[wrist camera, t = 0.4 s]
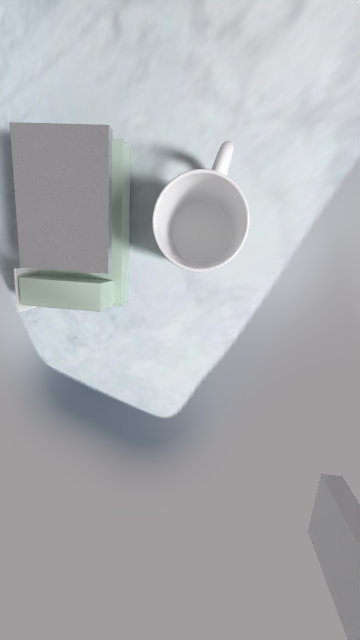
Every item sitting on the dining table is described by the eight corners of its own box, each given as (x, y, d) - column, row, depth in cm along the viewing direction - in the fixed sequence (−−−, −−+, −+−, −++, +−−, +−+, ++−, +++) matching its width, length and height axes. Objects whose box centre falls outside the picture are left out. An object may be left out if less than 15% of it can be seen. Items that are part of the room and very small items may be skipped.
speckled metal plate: (29, 136, 29) (9, 122, 26) (118, 138, 28) (108, 125, 25) (36, 266, 32) (19, 267, 29) (117, 272, 32) (108, 273, 29)
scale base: (41, 147, 32) (-3, 117, 25) (131, 150, 31) (110, 119, 24) (48, 302, 36) (12, 312, 30) (127, 309, 36) (109, 320, 29)
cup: (159, 255, 34) (140, 253, 24) (191, 153, 31) (184, 103, 21) (222, 277, 33) (228, 284, 24) (259, 177, 31) (284, 138, 21)
